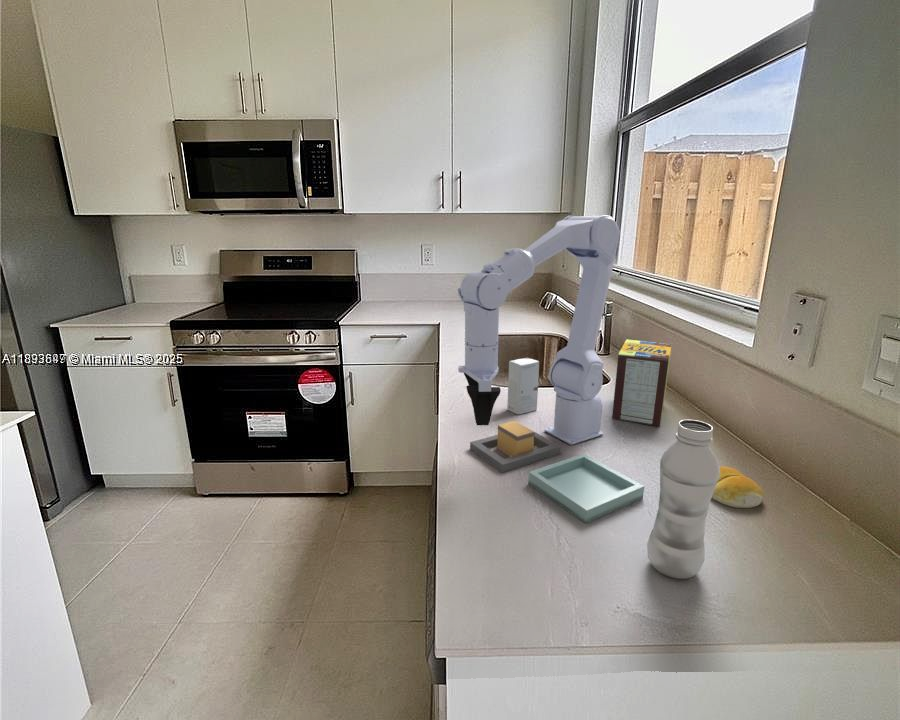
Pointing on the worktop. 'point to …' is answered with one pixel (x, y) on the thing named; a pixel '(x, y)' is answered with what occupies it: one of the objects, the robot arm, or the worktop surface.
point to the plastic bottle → (684, 501)
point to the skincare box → (523, 385)
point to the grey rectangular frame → (517, 461)
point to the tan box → (515, 438)
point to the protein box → (641, 382)
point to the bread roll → (737, 489)
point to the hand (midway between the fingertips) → (480, 415)
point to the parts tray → (585, 487)
